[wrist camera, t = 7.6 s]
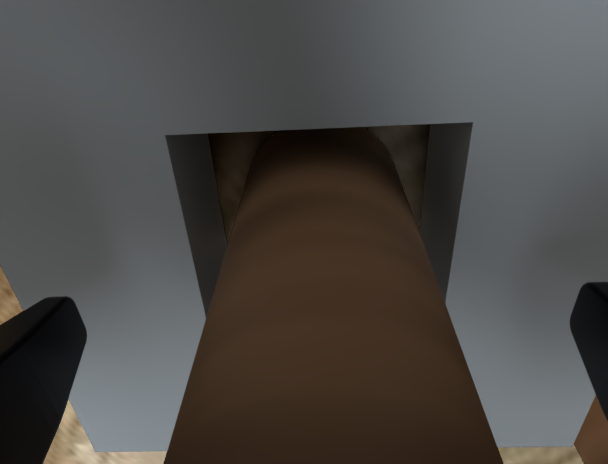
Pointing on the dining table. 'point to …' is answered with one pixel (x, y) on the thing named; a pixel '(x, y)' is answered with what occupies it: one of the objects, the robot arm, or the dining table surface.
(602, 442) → the medium dowel
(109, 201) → the grey square frame
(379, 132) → the dining table surface
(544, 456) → the dining table surface
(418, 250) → the long dowel
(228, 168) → the dining table surface
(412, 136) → the dining table surface
